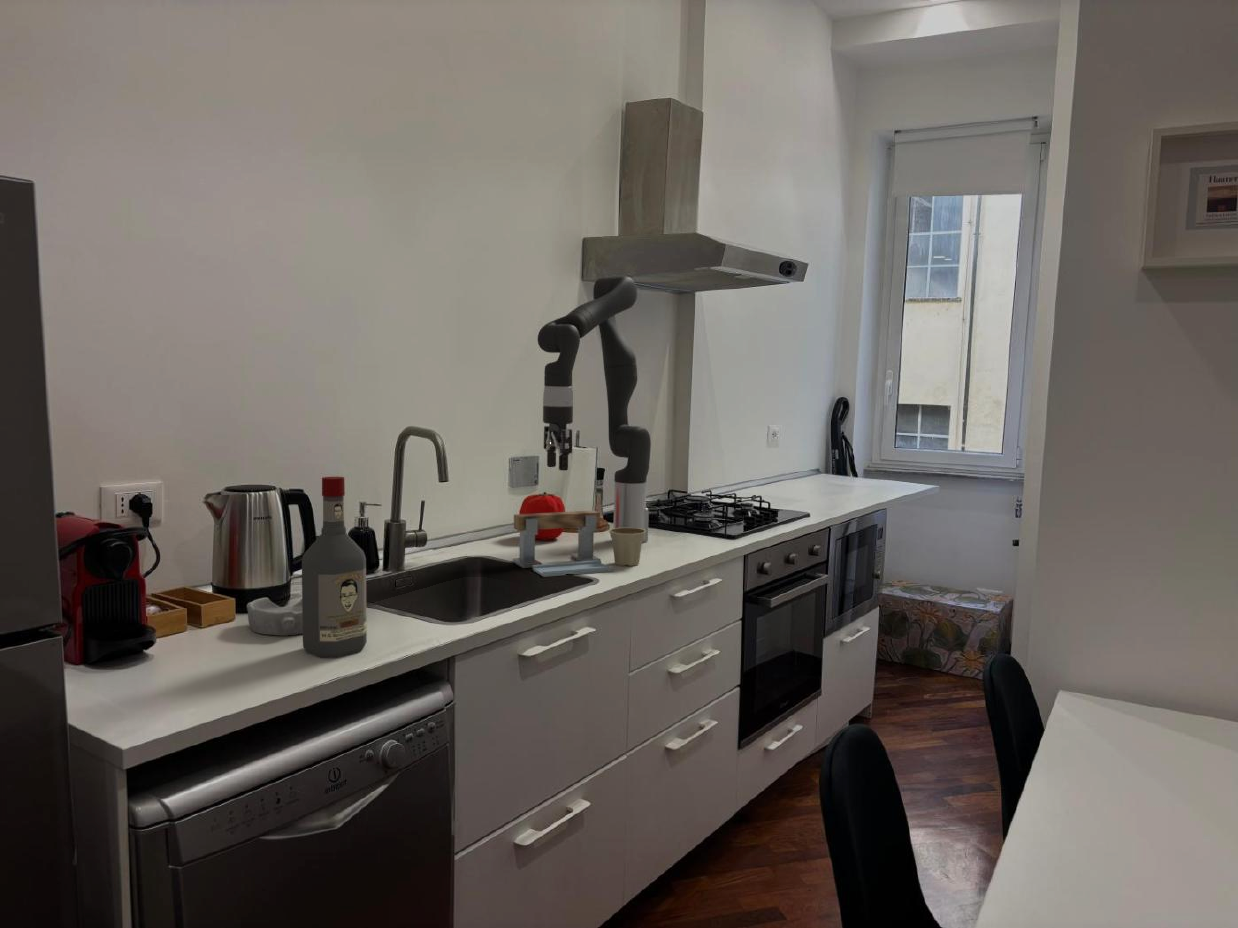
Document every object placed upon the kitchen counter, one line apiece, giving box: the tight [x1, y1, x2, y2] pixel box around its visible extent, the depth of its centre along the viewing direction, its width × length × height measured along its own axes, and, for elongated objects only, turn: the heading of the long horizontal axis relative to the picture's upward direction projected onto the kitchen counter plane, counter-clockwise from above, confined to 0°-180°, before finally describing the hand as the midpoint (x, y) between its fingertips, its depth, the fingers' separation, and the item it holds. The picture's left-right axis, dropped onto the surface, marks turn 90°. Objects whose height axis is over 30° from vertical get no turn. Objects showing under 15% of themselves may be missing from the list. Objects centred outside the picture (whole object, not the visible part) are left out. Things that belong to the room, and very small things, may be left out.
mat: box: [532, 559, 614, 578], centre depth 225 cm, size 18×8×1 cm, turn 115°
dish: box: [246, 597, 303, 636], centre depth 172 cm, size 14×14×5 cm
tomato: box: [518, 491, 566, 541], centre depth 266 cm, size 16×14×14 cm
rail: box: [513, 510, 601, 532], centre depth 234 cm, size 22×4×4 cm, turn 115°
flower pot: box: [608, 527, 646, 567], centre depth 234 cm, size 9×9×9 cm
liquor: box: [301, 476, 368, 659], centre depth 158 cm, size 9×9×30 cm
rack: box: [512, 515, 602, 569], centre depth 234 cm, size 21×8×12 cm, turn 115°
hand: (557, 468), depth 232 cm, fingers open, 8 cm apart
